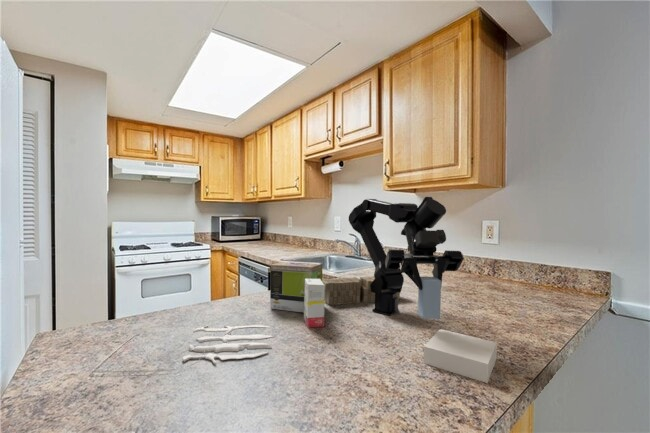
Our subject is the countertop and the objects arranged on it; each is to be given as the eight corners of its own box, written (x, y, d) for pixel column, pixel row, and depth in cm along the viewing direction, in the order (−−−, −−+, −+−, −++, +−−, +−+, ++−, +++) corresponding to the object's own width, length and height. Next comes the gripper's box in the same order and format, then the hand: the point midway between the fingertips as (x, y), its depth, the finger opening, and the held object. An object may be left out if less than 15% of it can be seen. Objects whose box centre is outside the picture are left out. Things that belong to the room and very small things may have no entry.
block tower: (389, 296, 118) (318, 299, 109) (390, 275, 118) (319, 276, 109) (400, 302, 110) (324, 305, 102) (401, 279, 110) (325, 281, 102)
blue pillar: (423, 318, 70) (424, 280, 70) (417, 312, 74) (418, 276, 74) (440, 318, 70) (441, 280, 70) (434, 313, 74) (434, 276, 74)
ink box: (324, 327, 82) (325, 284, 82) (306, 328, 81) (307, 284, 81) (319, 316, 90) (320, 277, 90) (303, 317, 90) (304, 278, 90)
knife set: (273, 367, 60) (273, 362, 60) (82, 378, 55) (82, 372, 56) (275, 324, 86) (275, 320, 86) (145, 328, 81) (145, 324, 81)
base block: (423, 365, 63) (423, 346, 63) (439, 345, 72) (440, 329, 72) (487, 385, 56) (487, 364, 56) (496, 360, 65) (496, 342, 65)
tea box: (322, 305, 102) (323, 262, 101) (312, 315, 92) (312, 267, 92) (283, 300, 106) (283, 259, 106) (269, 309, 97) (269, 263, 97)
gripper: (388, 218, 76) (397, 269, 65) (461, 219, 76) (483, 271, 65) (381, 245, 84) (389, 295, 73) (448, 246, 84) (465, 296, 73)
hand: (430, 289), depth 71 cm, fingers closed on blue pillar, 4 cm apart
